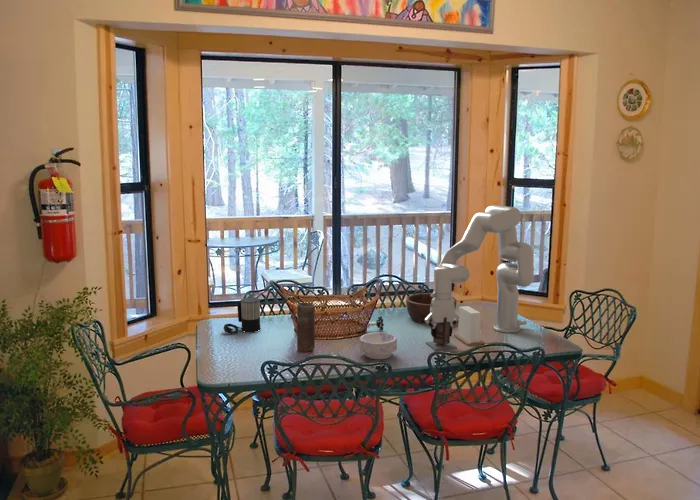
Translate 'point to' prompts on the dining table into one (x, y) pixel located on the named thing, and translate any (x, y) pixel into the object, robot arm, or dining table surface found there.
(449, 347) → the slate mat
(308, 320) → the candle
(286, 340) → the dining table surface
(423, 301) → the wooden bowl
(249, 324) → the milk frother
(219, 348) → the dining table surface
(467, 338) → the mounted unit
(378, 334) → the white bowl
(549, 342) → the dining table surface
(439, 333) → the box
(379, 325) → the valve
